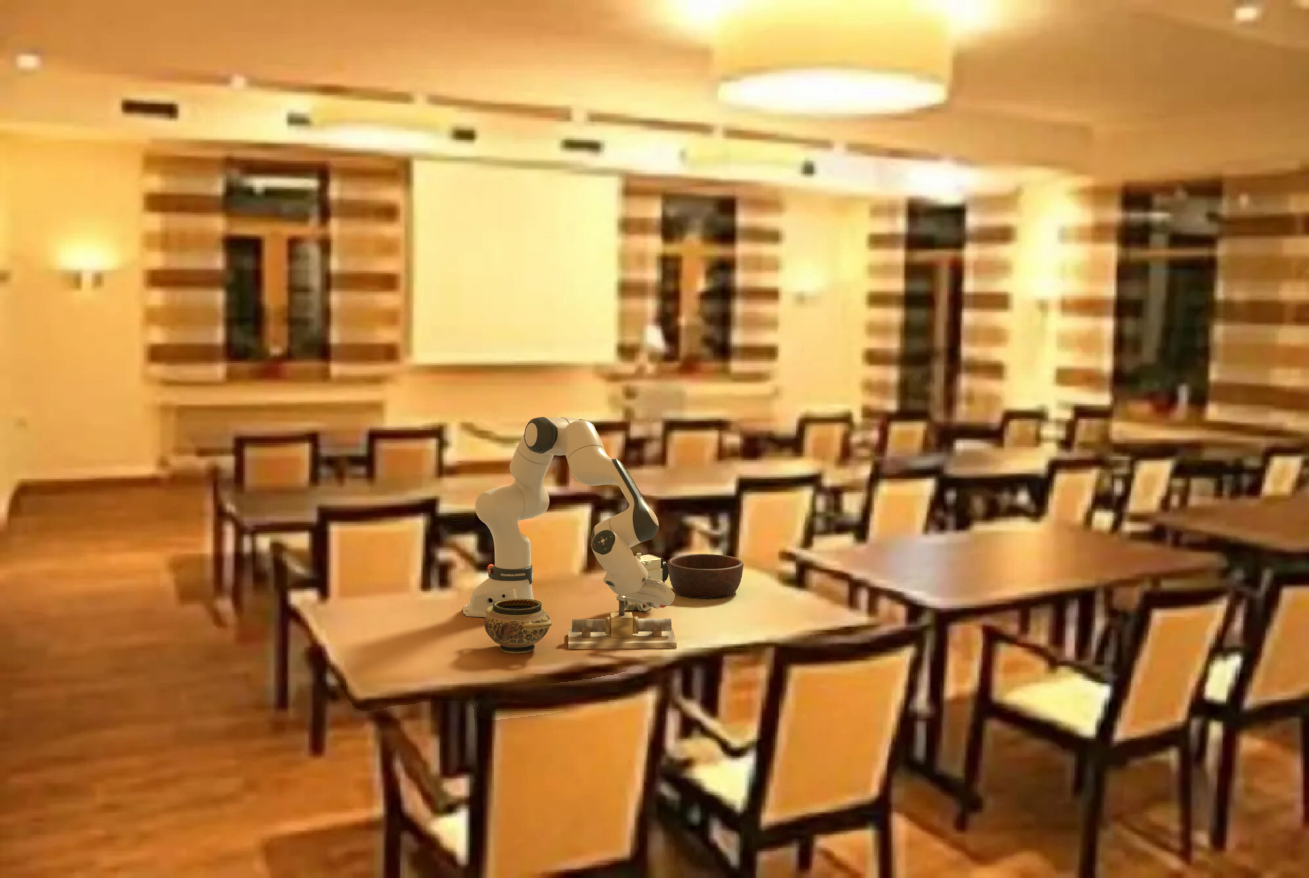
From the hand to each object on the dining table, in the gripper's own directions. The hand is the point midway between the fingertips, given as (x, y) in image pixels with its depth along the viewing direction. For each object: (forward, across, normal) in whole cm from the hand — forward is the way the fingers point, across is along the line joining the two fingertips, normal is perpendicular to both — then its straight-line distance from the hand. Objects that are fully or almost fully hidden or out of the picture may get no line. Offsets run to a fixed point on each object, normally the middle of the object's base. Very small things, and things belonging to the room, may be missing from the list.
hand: (654, 605), depth 348 cm
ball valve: (+29, +32, -12) cm, 44 cm away
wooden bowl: (+52, +32, -35) cm, 70 cm away
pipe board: (+8, +12, +9) cm, 17 cm away
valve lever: (+1, +6, 0) cm, 6 cm away
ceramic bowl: (-10, +27, +27) cm, 40 cm away
